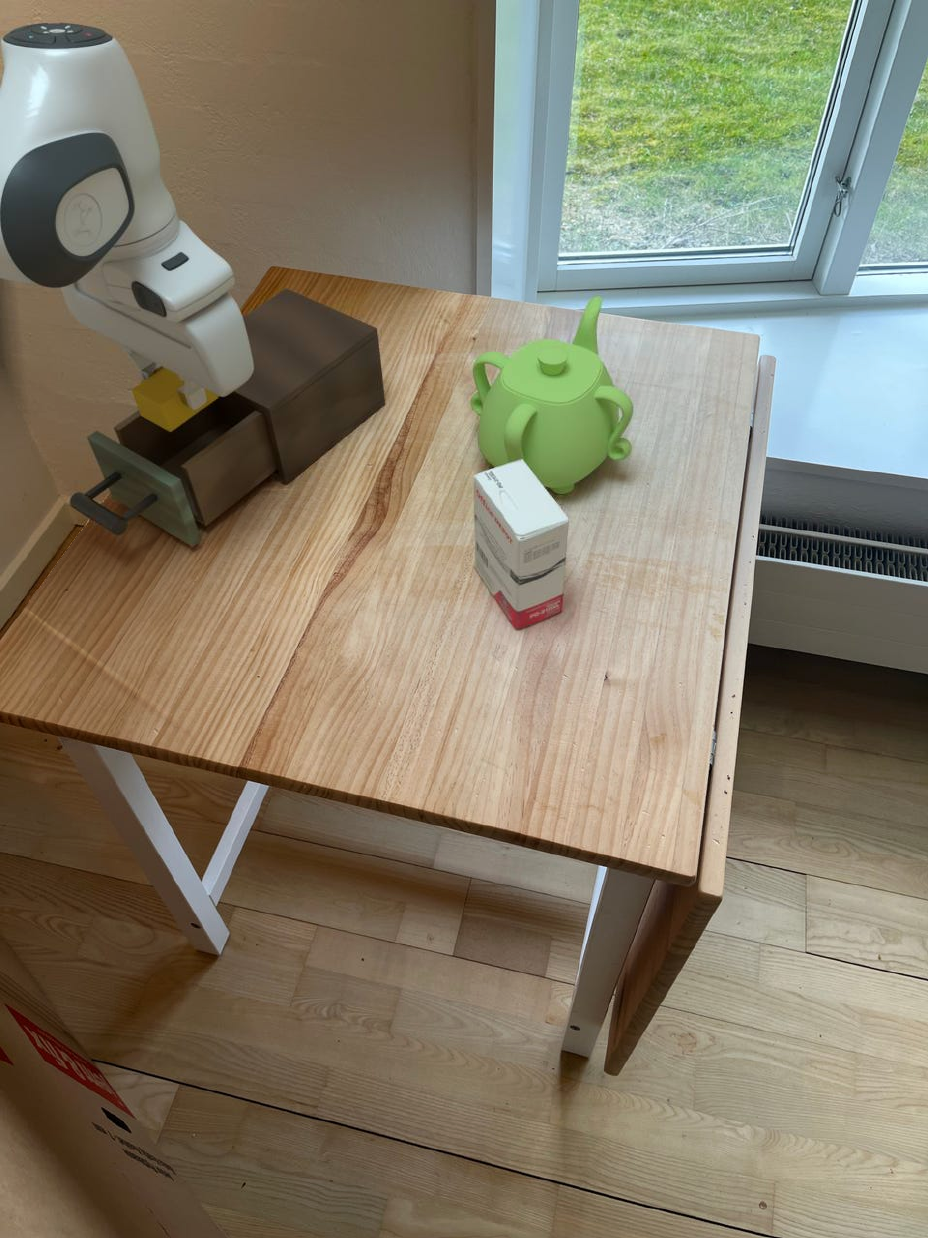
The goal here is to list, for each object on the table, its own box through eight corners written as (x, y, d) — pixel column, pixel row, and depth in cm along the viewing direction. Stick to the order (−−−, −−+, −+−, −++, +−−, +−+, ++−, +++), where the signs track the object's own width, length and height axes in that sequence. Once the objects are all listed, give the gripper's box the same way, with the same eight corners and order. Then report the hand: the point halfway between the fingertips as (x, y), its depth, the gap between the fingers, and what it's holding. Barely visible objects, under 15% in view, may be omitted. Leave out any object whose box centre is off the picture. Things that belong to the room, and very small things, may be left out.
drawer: (149, 582, 86) (123, 521, 80) (69, 529, 91) (39, 468, 85) (298, 462, 96) (284, 400, 90) (219, 420, 101) (201, 358, 94)
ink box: (564, 612, 84) (573, 518, 75) (515, 632, 83) (517, 539, 74) (519, 549, 89) (522, 454, 80) (472, 567, 88) (469, 473, 79)
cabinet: (286, 485, 95) (268, 409, 88) (199, 437, 100) (176, 361, 93) (385, 404, 103) (377, 327, 95) (300, 363, 108) (286, 287, 100)
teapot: (462, 413, 102) (458, 309, 92) (590, 394, 103) (600, 290, 93) (493, 517, 92) (492, 413, 82) (634, 495, 93) (651, 390, 83)
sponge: (170, 432, 85) (161, 405, 83) (140, 415, 87) (130, 389, 84) (219, 397, 88) (211, 370, 86) (189, 382, 89) (181, 355, 87)
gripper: (15, 230, 78) (74, 370, 88) (186, 312, 70) (228, 455, 80) (76, 197, 81) (126, 337, 91) (247, 273, 73) (279, 415, 84)
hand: (175, 393), depth 86 cm, fingers closed on sponge, 4 cm apart
